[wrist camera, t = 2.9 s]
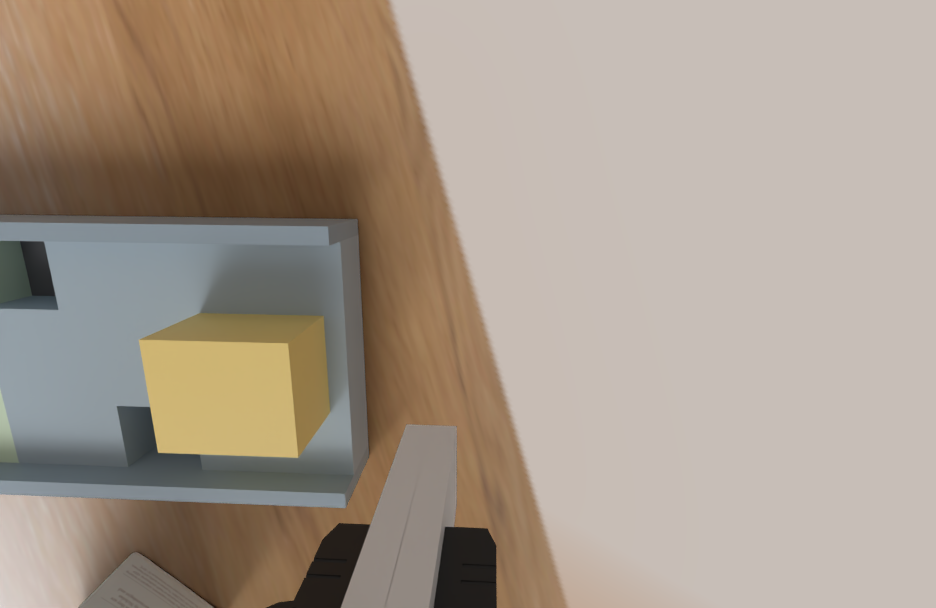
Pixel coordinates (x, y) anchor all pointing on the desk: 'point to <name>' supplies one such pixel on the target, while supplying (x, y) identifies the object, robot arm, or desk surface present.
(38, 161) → the desk surface
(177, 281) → the tray
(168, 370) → the block
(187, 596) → the supplement box
